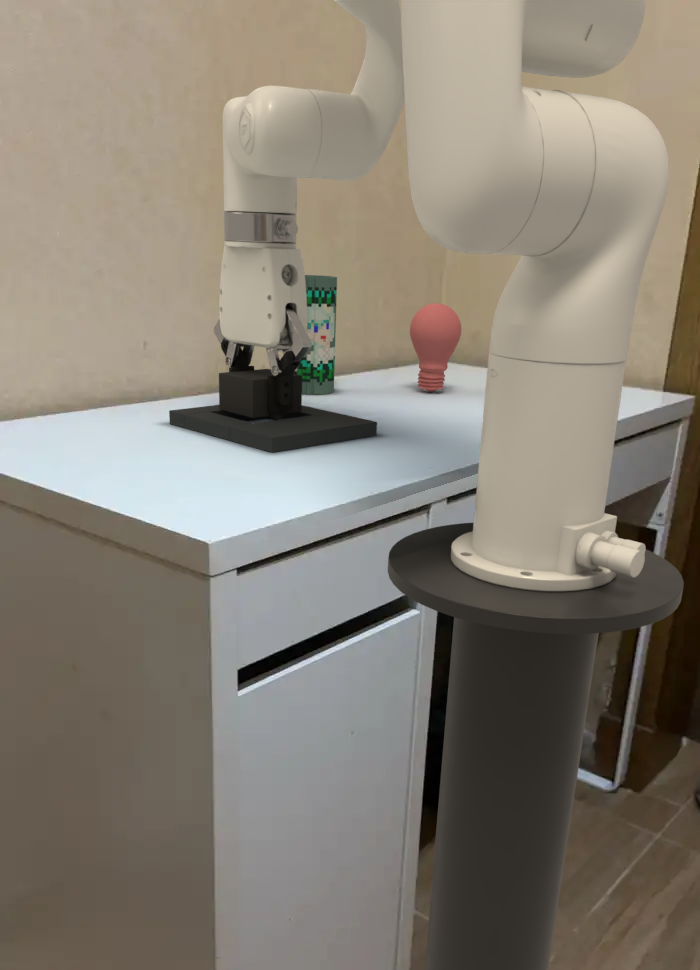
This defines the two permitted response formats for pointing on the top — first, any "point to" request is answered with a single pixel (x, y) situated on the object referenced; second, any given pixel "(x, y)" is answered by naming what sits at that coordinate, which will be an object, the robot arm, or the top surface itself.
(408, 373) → the top surface
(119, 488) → the top surface
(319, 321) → the can
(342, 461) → the top surface
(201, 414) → the base pad
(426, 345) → the light bulb
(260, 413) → the black block
